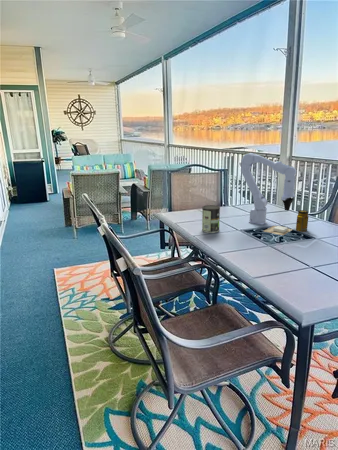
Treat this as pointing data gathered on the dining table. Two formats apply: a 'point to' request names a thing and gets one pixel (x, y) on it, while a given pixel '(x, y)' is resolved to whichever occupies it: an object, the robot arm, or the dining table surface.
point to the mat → (276, 231)
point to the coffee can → (210, 218)
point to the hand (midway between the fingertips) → (286, 210)
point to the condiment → (302, 221)
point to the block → (280, 229)
